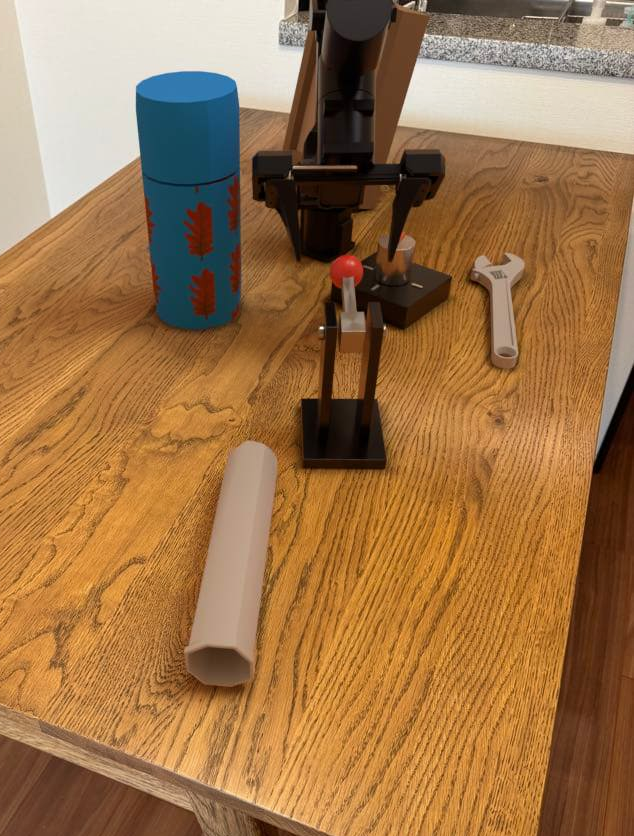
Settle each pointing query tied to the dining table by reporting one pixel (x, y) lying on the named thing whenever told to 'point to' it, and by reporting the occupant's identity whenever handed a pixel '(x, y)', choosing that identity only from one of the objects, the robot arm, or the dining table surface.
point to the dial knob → (394, 261)
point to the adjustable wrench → (500, 305)
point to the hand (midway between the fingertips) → (344, 261)
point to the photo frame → (389, 89)
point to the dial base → (399, 294)
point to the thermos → (192, 195)
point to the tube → (234, 570)
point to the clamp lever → (349, 304)
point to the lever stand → (345, 404)
